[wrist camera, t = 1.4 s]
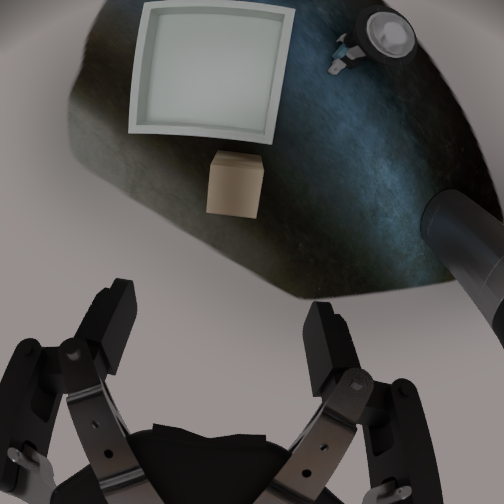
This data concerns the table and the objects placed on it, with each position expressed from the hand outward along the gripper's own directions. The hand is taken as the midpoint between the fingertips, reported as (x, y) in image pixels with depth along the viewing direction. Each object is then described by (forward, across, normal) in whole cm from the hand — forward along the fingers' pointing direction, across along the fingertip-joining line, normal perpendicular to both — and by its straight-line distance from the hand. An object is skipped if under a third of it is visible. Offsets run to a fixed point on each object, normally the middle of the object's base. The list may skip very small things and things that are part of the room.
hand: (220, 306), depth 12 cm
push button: (+20, -9, -16) cm, 27 cm away
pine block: (+20, 0, 0) cm, 20 cm away
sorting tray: (+20, +4, -11) cm, 23 cm away
